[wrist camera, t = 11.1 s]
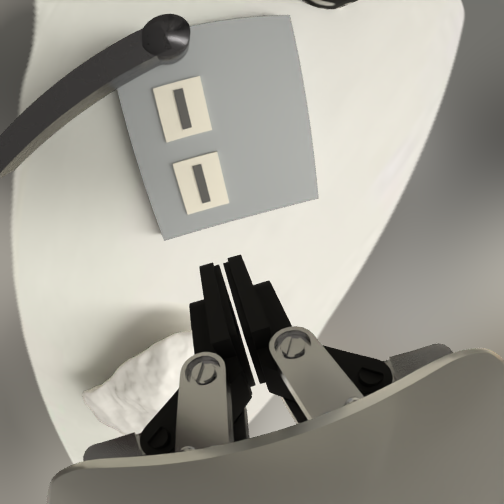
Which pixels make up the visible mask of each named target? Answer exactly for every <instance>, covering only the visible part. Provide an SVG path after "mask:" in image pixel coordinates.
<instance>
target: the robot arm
mask: <svg viewBox="0 0 504 504" xmlns="http://www.w3.org/2000/svg"><path fill="white" fill-rule="evenodd" d="M223 264H224V268H225V272H226V275H227V279H228V282H229V286H230V289H231V293H232V296H233V300H234V303H235V307H236V310H237V314H238V317H239V320H240V324H241V327H242V330H243V334H244V337H245V340H246V343H247V346H248V349H249V352H250V355H251V358H252V361H253V364H254V367H255V370H256V373H257V376H258V379H259V382H260V384H262V383H265V382H266V385H267V387H268V390H269V392H271V393H273V394H276V395H278V396H281V399H282V401H283V402H284V404H285V406H286V408H287V409H288V411H289V413H290V414H291V416H292V418H293V419H294V421H295V422H296V425H294V426H290V427H287V428H285V429H281V430H278V431H275V432H271V433H268V434H264V435H260V436H257V437H253V438H249V428H248V417H247V409H246V405H247V404H248V402H249V401H250V399H251V398H252V396H251V395H252V391H251V388H250V387H251V386H255V382H254V378H253V375H252V372H251V368H250V365H249V362H248V358H247V355H246V352H245V348H244V345H243V341H242V338H241V334H240V331H239V327H238V324H237V320H236V317H235V314H234V311H233V308H232V304H231V301H230V298H229V295H228V292H227V289H226V286H225V282H224V279H223V276H222V273H221V269H220V266H219V265H216V266H214V265H213V263H210V264H206V265H203V266H200V275H201V282H202V289H203V295H204V300H200V301H197V302H193V303H190V304H189V308H190V319H191V329H192V338H193V347H194V355H193V356H191V357H190V358H189V359H188V360H186V361H185V363H184V364H183V366H182V368H181V372H180V381H179V389H178V390H177V391H176V392H175V393H174V394H173V396H172V397H171V398H170V399H169V400H168V401H167V403H166V404H165V405H164V406H163V407H162V408H161V409H160V411H159V412H158V413H157V414H156V415H155V416H154V417H153V419H152V420H151V421H150V422H149V423H148V424H147V425H146V426H145V428H144V429H143V431H142V432H141V433H139V434H136V433H135V432H133V433H130V434H127V435H124V436H121V437H118V438H115V439H112V440H108V441H105V442H102V443H98V444H94V445H92V446H90V447H89V448H88V449H87V450H86V451H85V454H84V456H83V462H79V463H76V464H73V465H71V466H69V467H67V468H64V469H63V470H61V471H59V472H58V473H57V474H56V475H55V476H54V477H53V478H52V480H51V482H50V485H49V489H48V495H47V504H504V359H503V358H501V356H499V355H498V354H496V353H495V352H493V351H491V350H489V349H485V348H473V349H466V350H461V351H457V352H454V353H453V352H452V351H451V349H450V348H449V347H447V346H445V345H443V344H433V345H430V346H426V347H423V348H420V349H417V350H414V351H410V352H407V353H403V354H399V355H395V356H392V357H389V359H388V360H386V361H380V360H377V359H374V358H370V357H366V356H361V355H358V354H354V353H350V352H346V351H342V350H338V349H334V348H330V347H327V346H323V345H322V344H321V343H320V342H319V341H318V339H317V338H316V337H315V336H314V334H313V333H311V332H310V331H309V330H308V329H305V328H303V327H297V326H294V327H292V325H291V323H290V321H289V319H288V317H287V315H286V313H285V311H284V309H283V307H282V305H281V303H280V301H279V299H278V297H277V295H276V293H275V291H274V289H273V287H272V284H271V283H270V281H266V282H262V283H259V284H256V285H253V284H252V281H251V279H250V276H249V274H248V271H247V269H246V266H245V264H244V261H243V259H242V256H241V255H237V256H234V257H230V258H228V262H226V263H223Z"/></svg>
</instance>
